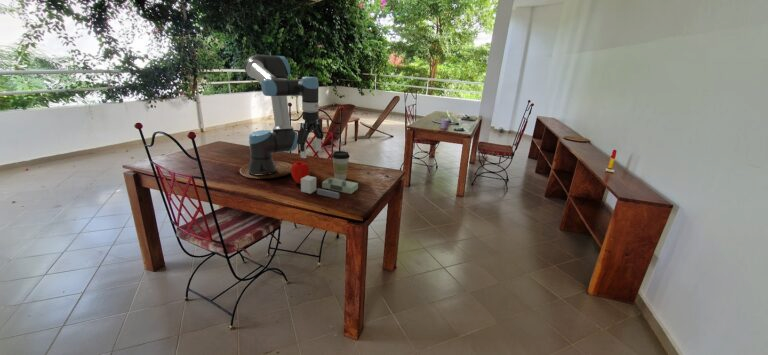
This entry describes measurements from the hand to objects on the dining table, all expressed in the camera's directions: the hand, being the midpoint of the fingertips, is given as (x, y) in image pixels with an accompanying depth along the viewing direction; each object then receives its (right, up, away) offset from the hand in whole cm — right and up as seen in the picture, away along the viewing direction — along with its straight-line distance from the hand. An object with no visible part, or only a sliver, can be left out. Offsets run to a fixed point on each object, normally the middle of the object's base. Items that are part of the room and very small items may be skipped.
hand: (311, 154), depth 163 cm
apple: (-9, -15, +15) cm, 23 cm away
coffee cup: (+11, -12, +25) cm, 30 cm away
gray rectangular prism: (-2, -18, +5) cm, 19 cm away
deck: (+11, -18, +7) cm, 23 cm away
